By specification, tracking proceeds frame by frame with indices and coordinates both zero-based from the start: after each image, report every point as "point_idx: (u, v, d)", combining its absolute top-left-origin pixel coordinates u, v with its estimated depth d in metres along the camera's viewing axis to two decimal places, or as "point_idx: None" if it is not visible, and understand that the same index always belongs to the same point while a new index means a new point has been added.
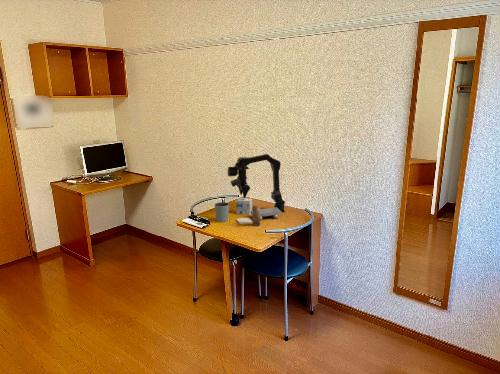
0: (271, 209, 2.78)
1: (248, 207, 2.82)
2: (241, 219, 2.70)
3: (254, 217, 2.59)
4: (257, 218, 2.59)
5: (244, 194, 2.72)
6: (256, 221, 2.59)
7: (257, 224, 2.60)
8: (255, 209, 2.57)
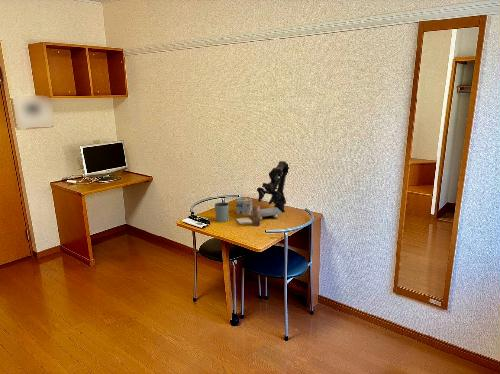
0: (271, 209, 2.78)
1: (248, 207, 2.82)
2: (241, 219, 2.70)
3: (254, 217, 2.59)
4: (257, 218, 2.59)
5: (271, 201, 2.62)
6: (256, 221, 2.59)
7: (257, 224, 2.60)
8: (255, 209, 2.57)
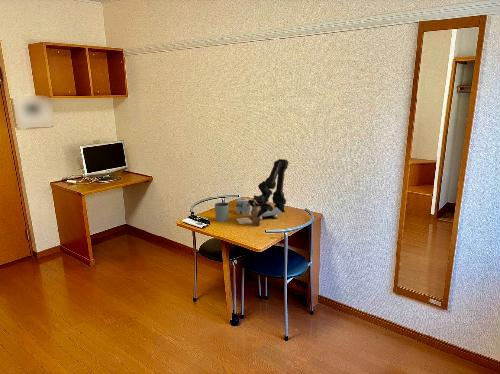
0: None
1: (248, 207, 2.82)
2: (241, 219, 2.70)
3: (254, 217, 2.59)
4: (257, 218, 2.59)
5: (260, 213, 2.58)
6: (256, 221, 2.59)
7: (257, 224, 2.60)
8: (255, 209, 2.57)
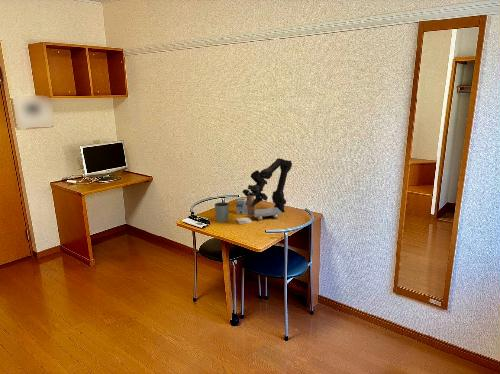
0: (271, 209, 2.78)
1: None
2: (241, 219, 2.70)
3: (249, 206, 2.60)
4: (252, 207, 2.60)
5: (255, 202, 2.59)
6: (251, 210, 2.60)
7: (252, 213, 2.61)
8: (250, 198, 2.58)
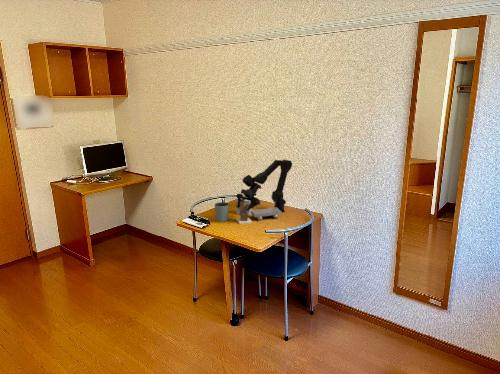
0: (271, 209, 2.78)
1: None
2: None
3: (242, 212, 2.66)
4: (245, 213, 2.66)
5: (250, 207, 2.63)
6: (244, 216, 2.66)
7: (245, 219, 2.67)
8: (242, 204, 2.64)
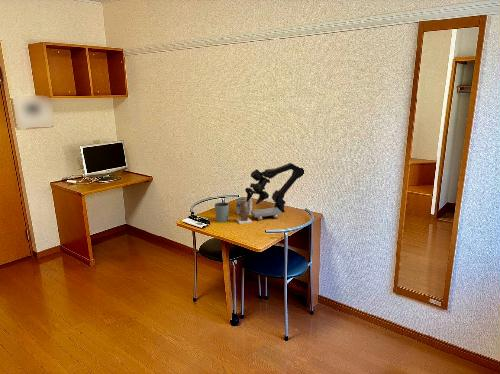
0: (271, 209, 2.78)
1: (248, 207, 2.82)
2: None
3: (242, 212, 2.66)
4: (245, 213, 2.66)
5: (259, 200, 2.69)
6: (244, 216, 2.66)
7: (245, 219, 2.67)
8: (243, 204, 2.64)
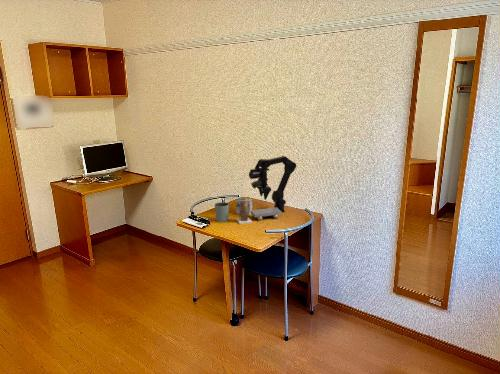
0: (271, 209, 2.78)
1: (248, 207, 2.82)
2: None
3: (242, 212, 2.66)
4: (245, 213, 2.66)
5: (265, 196, 2.72)
6: (244, 216, 2.66)
7: (245, 219, 2.67)
8: (243, 204, 2.64)
